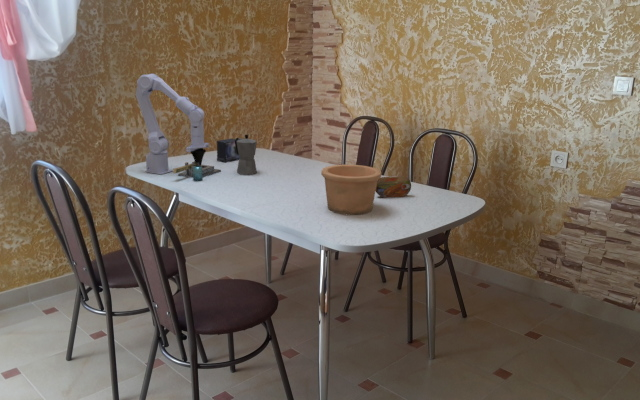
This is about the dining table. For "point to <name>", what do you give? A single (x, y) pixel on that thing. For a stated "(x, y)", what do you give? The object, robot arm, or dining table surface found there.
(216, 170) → the dock
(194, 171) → the teal glass cylinder
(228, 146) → the small box
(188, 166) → the pin
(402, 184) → the tin
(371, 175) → the pottery
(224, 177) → the dining table surface
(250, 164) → the coffeepot
